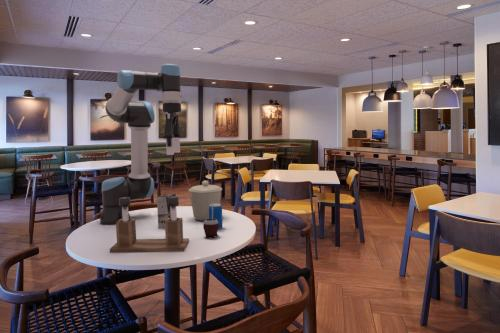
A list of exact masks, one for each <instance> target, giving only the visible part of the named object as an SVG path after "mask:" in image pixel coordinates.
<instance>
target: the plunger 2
mask: <svg viewBox="0 0 500 333" xmlns="http://www.w3.org/2000/svg"><path fill="white" fill-rule="evenodd" d="M168 205H170V210H171V221H177V218H178V216H177V215H178V214H177V206H178V205H179V196H171V197H168Z"/></svg>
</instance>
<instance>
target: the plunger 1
mask: <svg viewBox="0 0 500 333" xmlns="http://www.w3.org/2000/svg"><path fill="white" fill-rule="evenodd" d="M119 206H122V217H123V222H129V215H130V214H129V215H128V212H129V206H131V200H130V197H122V198H119Z"/></svg>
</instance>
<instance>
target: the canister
mask: <svg viewBox="0 0 500 333" xmlns="http://www.w3.org/2000/svg"><path fill="white" fill-rule="evenodd" d="M209 183H210V182H209V181H208V180H203V181H202V182H201V184H198V185H194V186H192V187H190V188H189V189H188V192H189V194H190V201H191V208H192V213H193V214H192V215H193V217H194V218H195V220H197V221H202V222H204V221H205V220H206V219H209V206H210V204H212V202H214V203H213V204H221V195H222V191H223V188H222V187H220V186H219V185H215V184H209Z"/></svg>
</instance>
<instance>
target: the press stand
mask: <svg viewBox="0 0 500 333" xmlns="http://www.w3.org/2000/svg"><path fill="white" fill-rule="evenodd" d="M183 222H184V221H183V217H177V221H171V218H168V219H167V220H166V221H165V229H164V230H165V231H164V232H165V238H143V239H142V238H138V239H137V226H136V225H137V224H136V218H130V219H129V222H123V219H120V220H119V221H117V222H116V224H115V229H116V233H115V234H116V243H115V244H113V245H112V246H111V247H110V248H109V253H110V254H111V253H112V254H113V253H155V252H156V253H157V252H158V253H159V252H161V253H162V252H163V253H164V252H185V250H186V249H187V246H188V244H190V243H189V242H190V238H188V237H187V238H186V237H185V238H184V226H183V225H184V224H183Z"/></svg>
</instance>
